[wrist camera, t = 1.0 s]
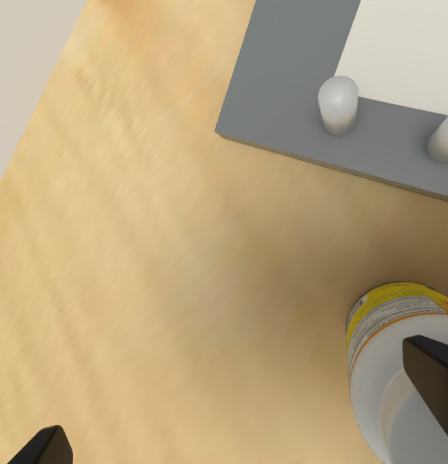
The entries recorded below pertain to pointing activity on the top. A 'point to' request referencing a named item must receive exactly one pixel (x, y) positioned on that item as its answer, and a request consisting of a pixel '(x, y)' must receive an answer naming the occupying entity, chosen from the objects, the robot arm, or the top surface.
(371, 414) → the supplement bottle
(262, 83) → the pin tray
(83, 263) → the top surface
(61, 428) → the robot arm
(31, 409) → the top surface
